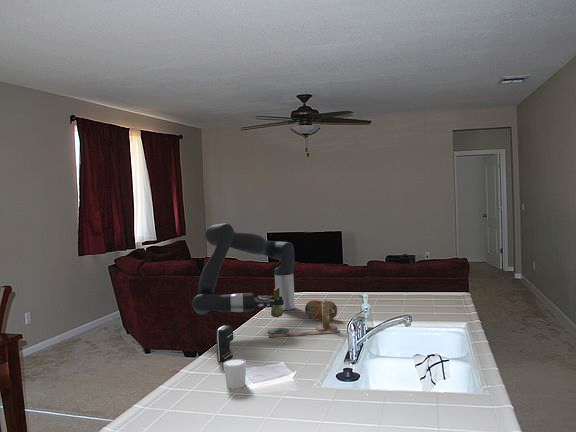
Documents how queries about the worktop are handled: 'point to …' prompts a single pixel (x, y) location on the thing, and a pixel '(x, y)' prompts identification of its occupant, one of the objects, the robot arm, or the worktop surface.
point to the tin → (319, 310)
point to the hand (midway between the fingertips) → (282, 300)
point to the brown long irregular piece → (321, 329)
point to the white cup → (235, 373)
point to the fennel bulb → (276, 309)
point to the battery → (224, 342)
